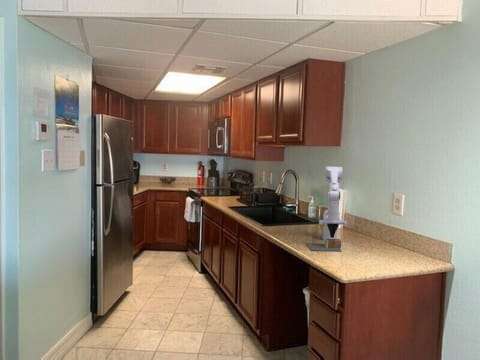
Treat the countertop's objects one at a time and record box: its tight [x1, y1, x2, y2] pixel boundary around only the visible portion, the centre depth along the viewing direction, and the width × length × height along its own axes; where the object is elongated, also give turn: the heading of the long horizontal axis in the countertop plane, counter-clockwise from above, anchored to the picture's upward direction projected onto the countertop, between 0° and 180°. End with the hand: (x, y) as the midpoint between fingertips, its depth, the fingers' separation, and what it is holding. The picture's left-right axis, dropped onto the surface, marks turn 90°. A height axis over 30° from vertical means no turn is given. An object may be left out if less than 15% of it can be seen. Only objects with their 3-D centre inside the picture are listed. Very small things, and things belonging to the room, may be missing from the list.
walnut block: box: [324, 238, 342, 249], centre depth 205 cm, size 4×4×8 cm
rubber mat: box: [305, 242, 342, 253], centre depth 205 cm, size 14×16×1 cm
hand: (332, 237), depth 205 cm, fingers closed
